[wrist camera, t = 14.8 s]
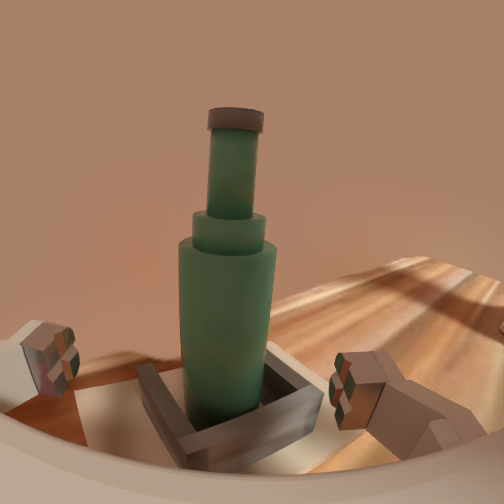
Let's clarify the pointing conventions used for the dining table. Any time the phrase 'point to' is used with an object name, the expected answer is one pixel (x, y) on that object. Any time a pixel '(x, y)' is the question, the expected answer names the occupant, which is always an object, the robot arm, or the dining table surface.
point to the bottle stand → (225, 434)
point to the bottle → (226, 280)
